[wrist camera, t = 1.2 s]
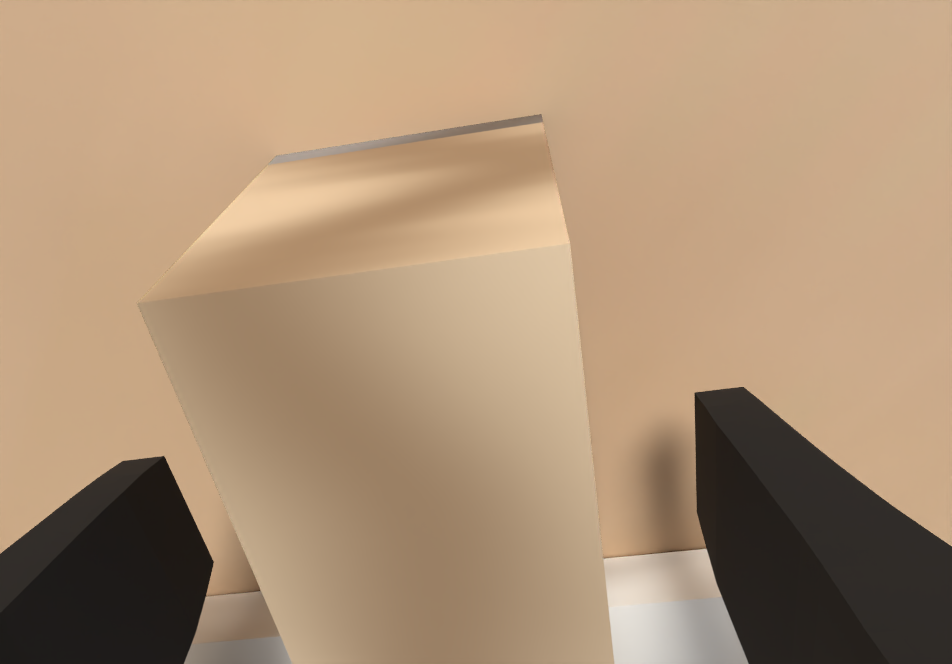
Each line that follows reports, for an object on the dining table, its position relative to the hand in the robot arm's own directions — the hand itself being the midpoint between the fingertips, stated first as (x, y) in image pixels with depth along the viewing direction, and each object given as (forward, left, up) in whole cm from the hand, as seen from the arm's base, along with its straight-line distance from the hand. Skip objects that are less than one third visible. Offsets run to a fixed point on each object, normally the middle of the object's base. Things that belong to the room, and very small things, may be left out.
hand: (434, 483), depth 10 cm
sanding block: (0, 0, -3) cm, 3 cm away
